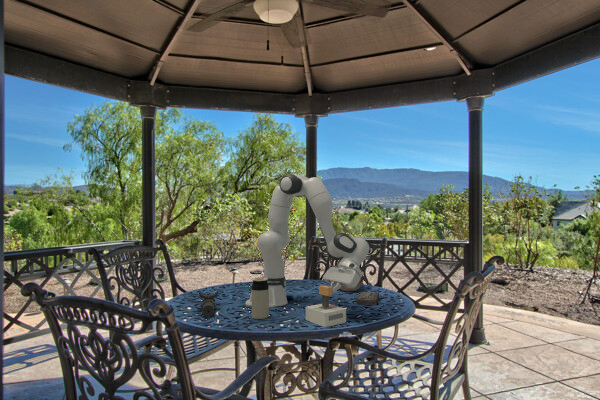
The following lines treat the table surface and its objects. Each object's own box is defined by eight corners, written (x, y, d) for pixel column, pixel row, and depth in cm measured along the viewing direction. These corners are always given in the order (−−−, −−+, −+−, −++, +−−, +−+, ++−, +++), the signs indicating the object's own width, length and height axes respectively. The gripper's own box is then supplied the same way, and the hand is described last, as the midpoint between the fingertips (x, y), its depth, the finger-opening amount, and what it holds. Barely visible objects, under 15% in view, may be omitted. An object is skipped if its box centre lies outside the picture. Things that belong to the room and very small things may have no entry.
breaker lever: (323, 304, 181) (323, 285, 182) (331, 306, 176) (331, 287, 177) (319, 305, 180) (319, 285, 180) (327, 307, 175) (327, 288, 175)
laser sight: (197, 318, 185) (197, 297, 185) (199, 307, 206) (199, 287, 207) (218, 317, 187) (218, 296, 187) (218, 305, 209) (218, 286, 209)
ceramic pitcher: (365, 293, 237) (365, 251, 237) (330, 293, 236) (330, 251, 237) (360, 287, 254) (360, 248, 255) (328, 287, 254) (327, 248, 254)
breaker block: (326, 315, 187) (326, 302, 187) (346, 322, 176) (346, 308, 176) (305, 319, 180) (305, 306, 180) (325, 327, 169) (325, 312, 169)
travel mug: (253, 320, 181) (253, 280, 181) (250, 315, 188) (250, 277, 189) (270, 318, 183) (270, 279, 183) (266, 314, 191) (266, 276, 191)
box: (379, 297, 224) (379, 291, 224) (376, 305, 207) (376, 299, 207) (360, 297, 227) (360, 291, 227) (356, 304, 210) (356, 299, 210)
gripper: (329, 261, 194) (313, 283, 188) (358, 266, 177) (342, 290, 171) (336, 269, 196) (321, 291, 190) (366, 275, 179) (350, 299, 174)
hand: (331, 291), depth 181 cm, fingers closed
